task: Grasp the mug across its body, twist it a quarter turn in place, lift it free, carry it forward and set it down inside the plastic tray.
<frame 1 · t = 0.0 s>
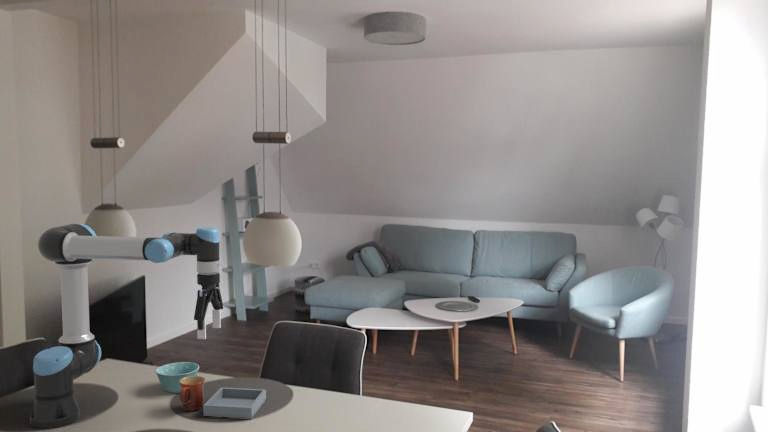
hand: (209, 333, 221), 28 cm above the table, fingers open, 13 cm apart
tray: (235, 408, 226), on the table
bowl: (178, 389, 244), on the table
mug: (190, 410, 224), on the table
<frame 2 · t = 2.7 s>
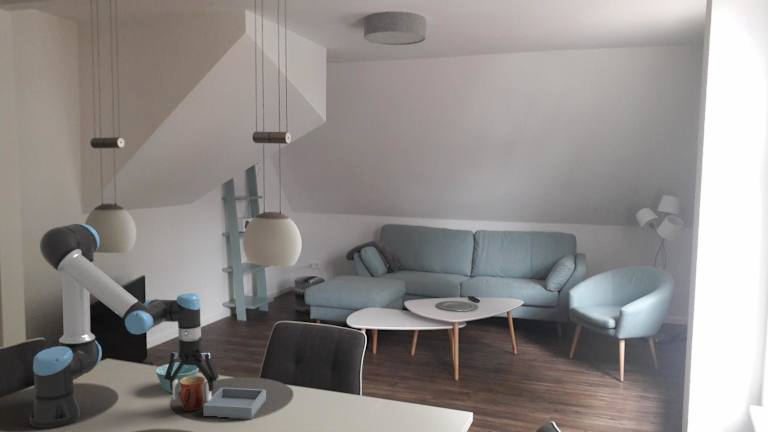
hand: (192, 399, 223), 4 cm above the table, fingers open, 11 cm apart
nothing on the table moved.
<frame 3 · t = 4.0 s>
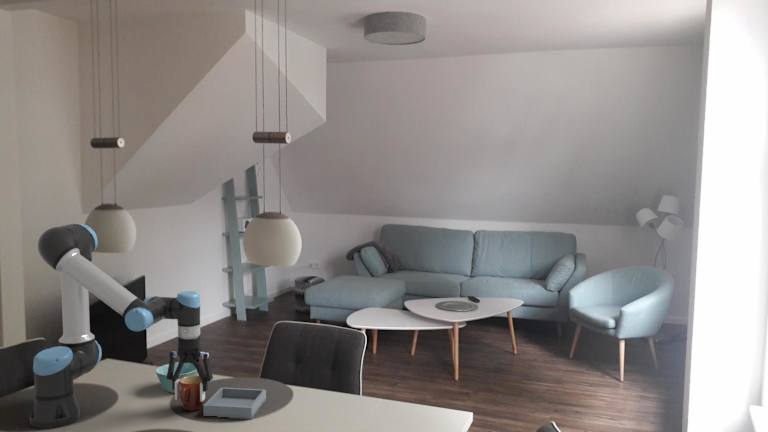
hand: (190, 399, 223), 4 cm above the table, fingers closed on mug, 8 cm apart
mug: (190, 410, 224), on the table, touching gripper
everything else where it was.
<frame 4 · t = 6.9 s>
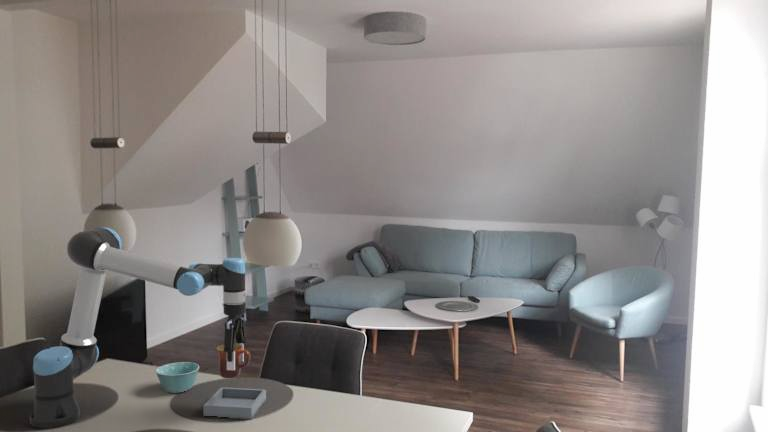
hand: (235, 365, 225), 16 cm above the table, fingers closed on mug, 8 cm apart
mug: (234, 376, 225), point 12 cm above the table, touching gripper
everything else where it was.
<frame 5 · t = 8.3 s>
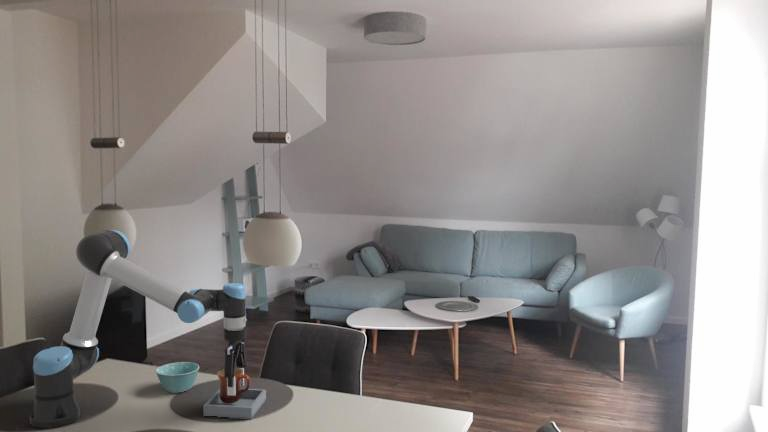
hand: (235, 390, 225), 7 cm above the table, fingers closed on mug, 8 cm apart
mug: (234, 401, 226), point 3 cm above the table, touching gripper
everything else where it was.
when the fingers open (5 cm above the table, at t = 9.6 s): mug stays where it is, resting on tray.
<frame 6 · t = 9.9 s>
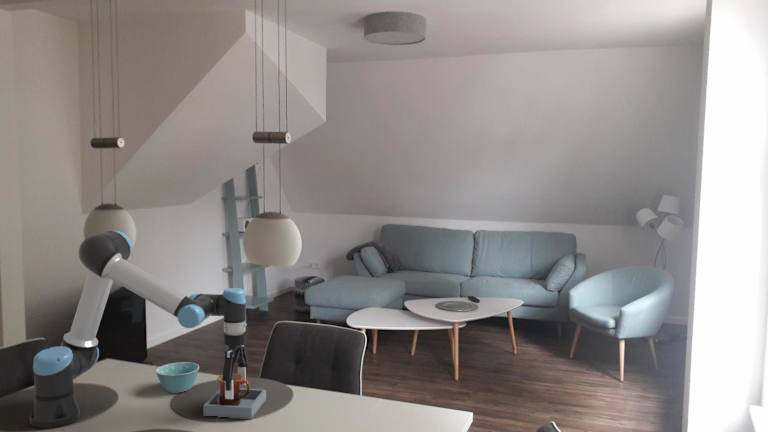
hand: (235, 391, 226), 6 cm above the table, fingers open, 12 cm apart
mug: (234, 406, 226), point 1 cm above the table, touching tray
everything else where it was.
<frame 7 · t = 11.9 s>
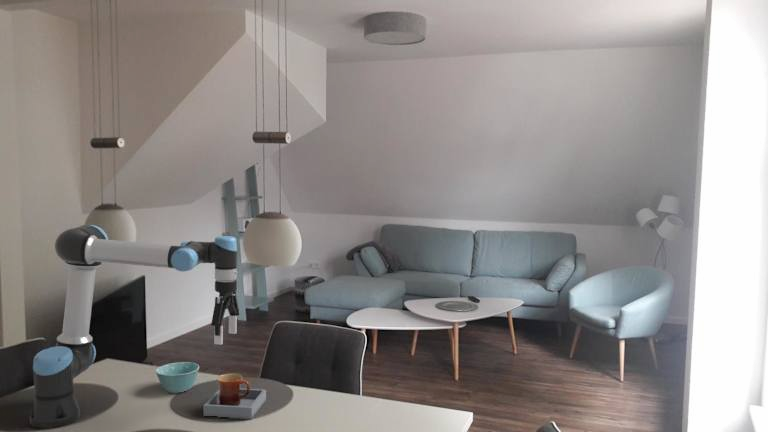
hand: (225, 338, 227), 24 cm above the table, fingers open, 13 cm apart
nothing on the table moved.
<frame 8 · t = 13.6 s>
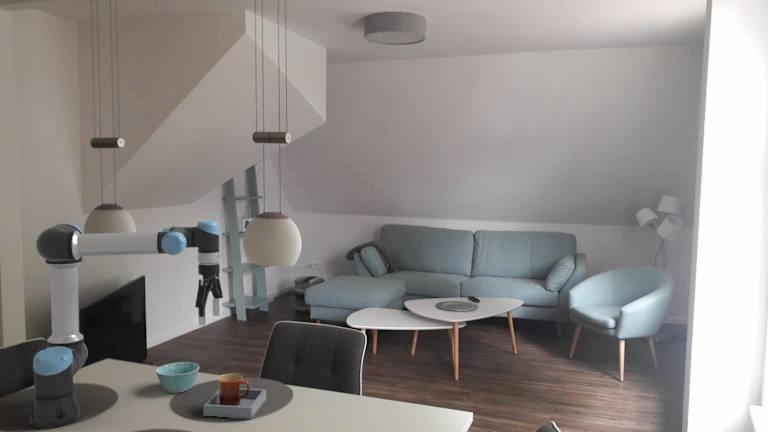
hand: (209, 320, 235), 29 cm above the table, fingers open, 13 cm apart
nothing on the table moved.
at the end: mug inside the target area on the tray (0.5 cm from its centre), point 0.6 cm above the tray's base; mug tilted 0°; the gripper is holding nothing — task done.
